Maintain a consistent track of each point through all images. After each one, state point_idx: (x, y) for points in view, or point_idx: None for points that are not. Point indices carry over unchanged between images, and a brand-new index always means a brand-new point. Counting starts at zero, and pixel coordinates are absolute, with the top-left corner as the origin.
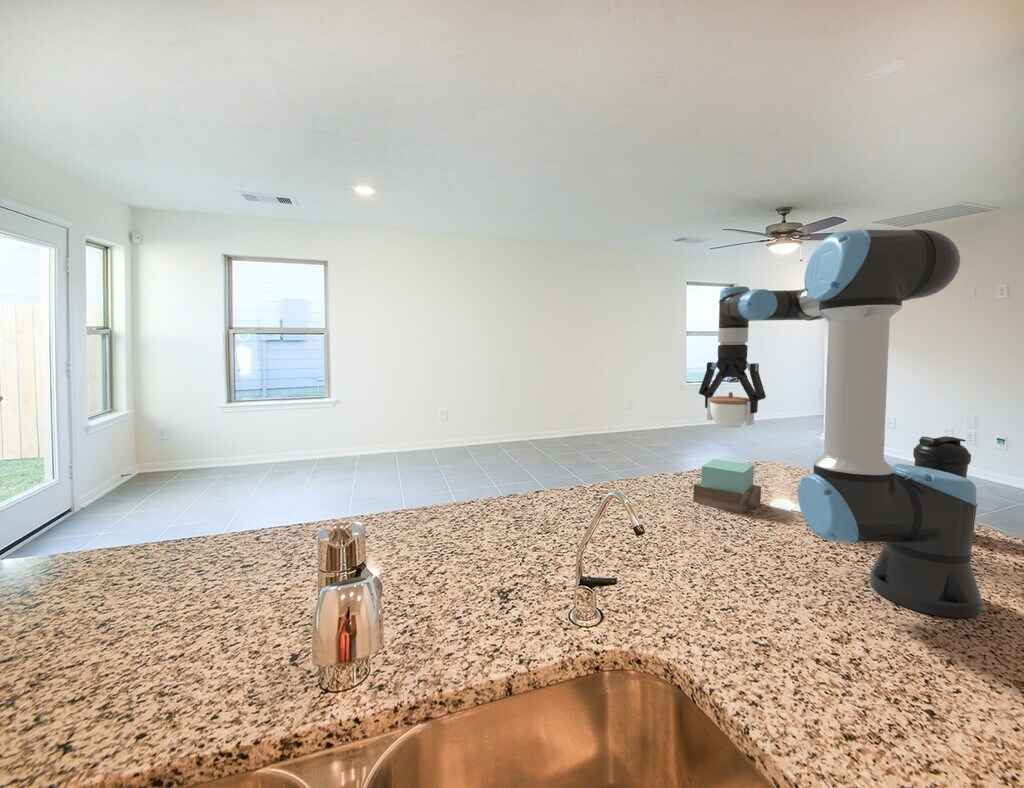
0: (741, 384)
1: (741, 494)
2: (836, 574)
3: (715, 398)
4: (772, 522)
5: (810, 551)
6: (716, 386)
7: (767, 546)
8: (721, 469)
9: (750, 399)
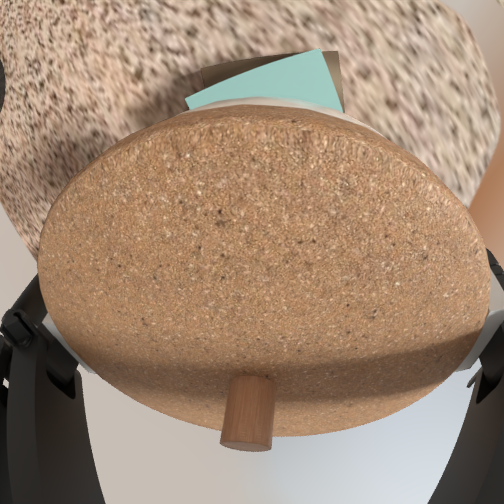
0: (42, 496)
1: (204, 85)
2: (18, 41)
3: (386, 224)
4: (147, 93)
5: (54, 57)
6: (457, 486)
7: (86, 7)
8: (252, 69)
9: (36, 341)
